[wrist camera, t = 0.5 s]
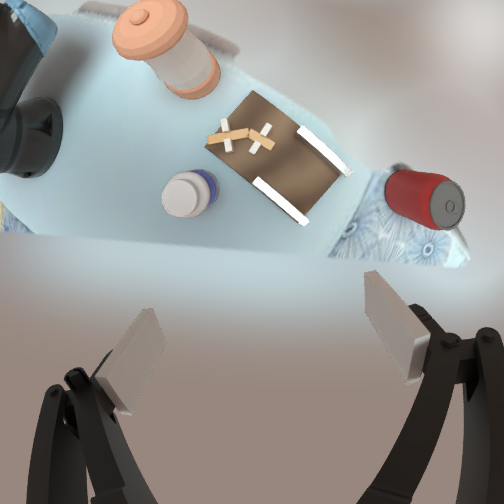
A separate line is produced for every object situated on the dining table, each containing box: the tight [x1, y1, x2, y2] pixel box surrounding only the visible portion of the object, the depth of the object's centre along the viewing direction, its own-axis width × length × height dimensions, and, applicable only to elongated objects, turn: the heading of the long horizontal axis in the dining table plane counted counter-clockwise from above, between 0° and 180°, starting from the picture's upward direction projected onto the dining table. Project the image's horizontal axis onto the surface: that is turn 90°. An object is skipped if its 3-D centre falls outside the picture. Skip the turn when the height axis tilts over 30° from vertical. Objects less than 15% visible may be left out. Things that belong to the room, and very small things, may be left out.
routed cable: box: [207, 118, 275, 155], centre depth 32 cm, size 8×7×2 cm
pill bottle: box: [161, 170, 219, 218], centre depth 31 cm, size 5×5×10 cm
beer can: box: [385, 170, 465, 230], centre depth 29 cm, size 7×7×12 cm
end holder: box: [253, 126, 353, 227], centre depth 32 cm, size 8×9×4 cm
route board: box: [205, 90, 339, 223], centre depth 34 cm, size 16×10×1 cm, turn 51°
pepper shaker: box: [112, 0, 221, 99], centre depth 22 cm, size 7×7×19 cm
